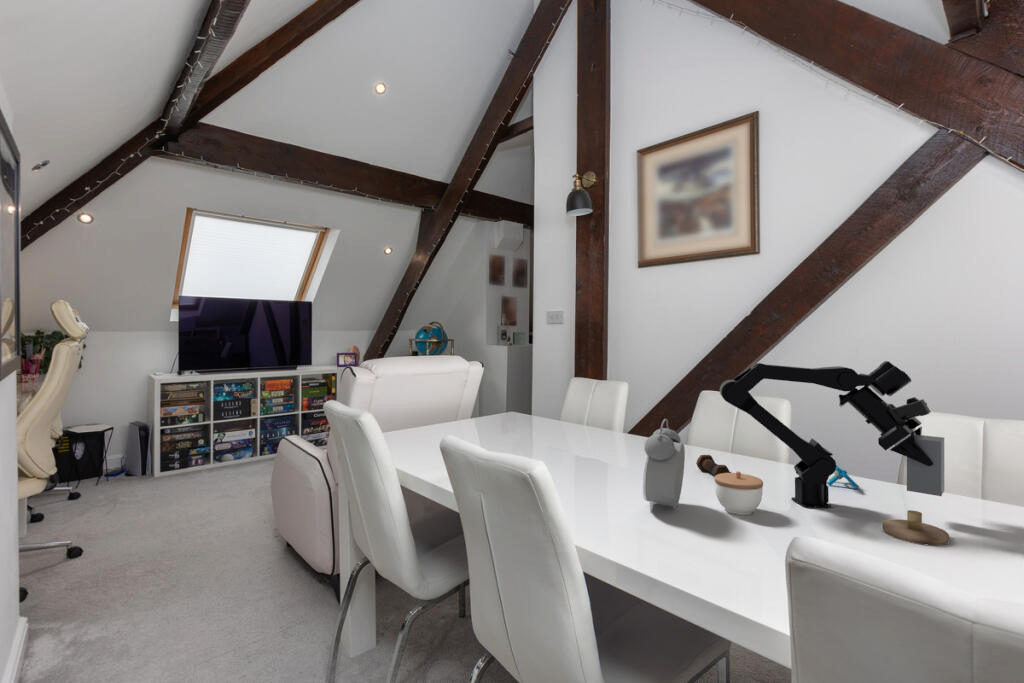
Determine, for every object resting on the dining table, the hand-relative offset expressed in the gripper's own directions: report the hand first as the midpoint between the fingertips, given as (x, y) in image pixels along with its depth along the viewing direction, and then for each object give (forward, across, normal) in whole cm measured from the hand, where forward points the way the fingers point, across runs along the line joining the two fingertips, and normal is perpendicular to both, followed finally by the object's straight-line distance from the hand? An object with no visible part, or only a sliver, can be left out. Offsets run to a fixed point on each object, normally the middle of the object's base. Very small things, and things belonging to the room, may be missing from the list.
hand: (933, 462), depth 114 cm
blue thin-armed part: (-5, +17, +25) cm, 31 cm away
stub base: (+8, -12, +11) cm, 18 cm away
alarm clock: (-24, -33, +44) cm, 60 cm away
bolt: (-26, +3, +46) cm, 53 cm away
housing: (+4, 0, +6) cm, 7 cm away
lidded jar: (-15, -22, +34) cm, 43 cm away
